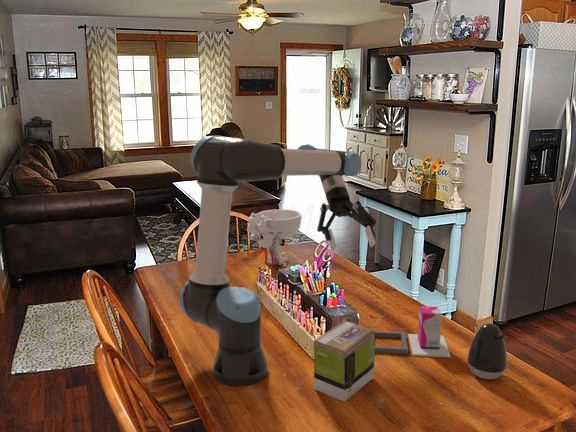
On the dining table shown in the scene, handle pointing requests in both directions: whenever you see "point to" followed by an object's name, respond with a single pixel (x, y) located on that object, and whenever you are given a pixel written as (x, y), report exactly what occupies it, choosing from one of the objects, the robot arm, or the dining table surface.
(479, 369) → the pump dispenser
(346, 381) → the tea box
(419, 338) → the supplement box
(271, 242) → the white sculpted pedestal bowl
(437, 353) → the white flat square tile
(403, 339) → the socket frame
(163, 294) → the dining table surface
